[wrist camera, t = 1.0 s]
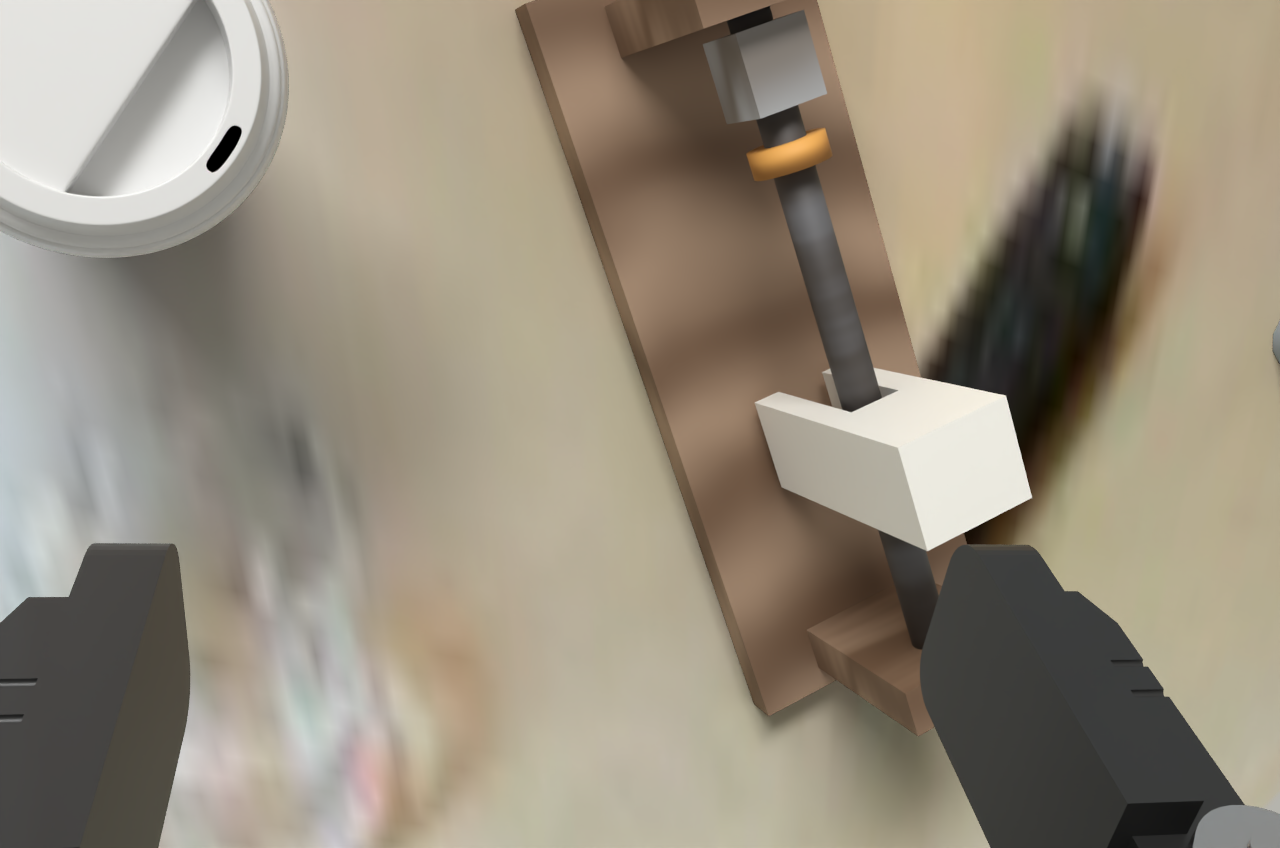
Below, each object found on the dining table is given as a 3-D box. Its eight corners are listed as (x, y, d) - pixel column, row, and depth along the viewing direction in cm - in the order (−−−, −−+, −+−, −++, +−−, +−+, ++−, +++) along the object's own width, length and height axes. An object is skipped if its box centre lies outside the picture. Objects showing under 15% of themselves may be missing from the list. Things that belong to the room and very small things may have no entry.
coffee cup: (85, 298, 44) (48, 336, 30) (-104, 60, 41) (-244, -20, 27) (309, 153, 46) (371, 126, 32) (144, -85, 43) (134, -229, 29)
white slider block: (869, 445, 54) (1031, 497, 44) (781, 487, 53) (927, 551, 43) (845, 361, 53) (1005, 395, 43) (754, 402, 52) (897, 447, 42)
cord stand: (963, 592, 60) (1100, 657, 51) (754, 704, 56) (861, 793, 48) (776, -76, 51) (903, -137, 42) (515, 9, 48) (593, -38, 39)
